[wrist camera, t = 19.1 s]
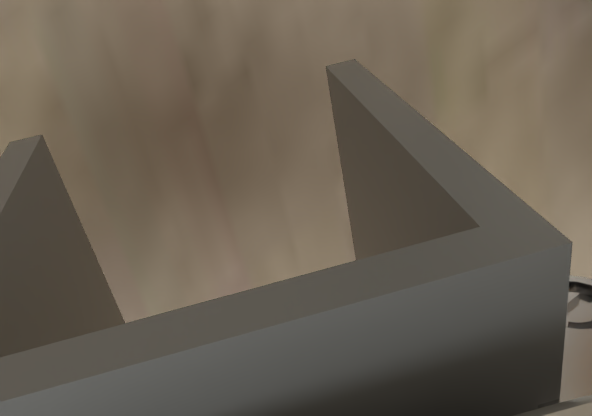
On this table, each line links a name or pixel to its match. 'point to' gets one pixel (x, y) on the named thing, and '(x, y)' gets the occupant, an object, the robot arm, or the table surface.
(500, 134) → the table surface
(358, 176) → the arch cover
